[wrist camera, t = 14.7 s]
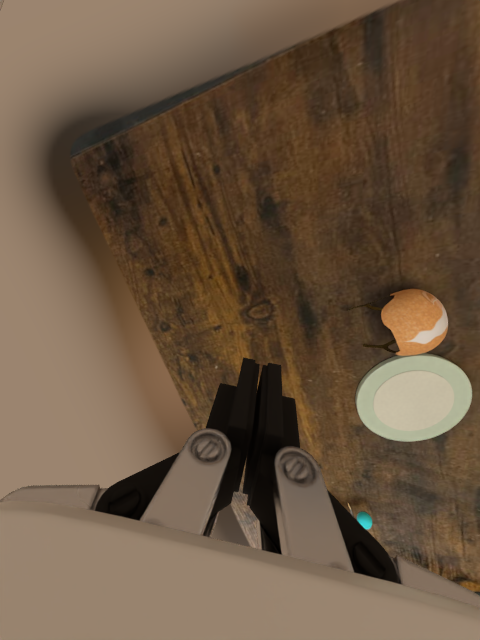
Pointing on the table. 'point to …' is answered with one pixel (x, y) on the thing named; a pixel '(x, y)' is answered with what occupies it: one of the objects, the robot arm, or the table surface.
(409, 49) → the table surface
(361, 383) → the plate
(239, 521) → the table surface
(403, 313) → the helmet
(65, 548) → the robot arm
